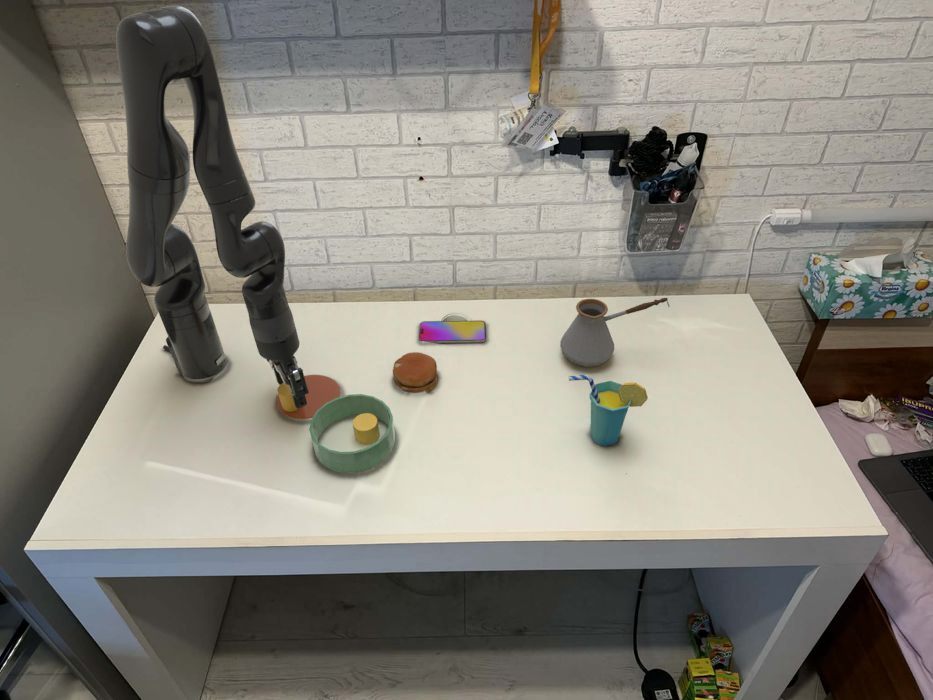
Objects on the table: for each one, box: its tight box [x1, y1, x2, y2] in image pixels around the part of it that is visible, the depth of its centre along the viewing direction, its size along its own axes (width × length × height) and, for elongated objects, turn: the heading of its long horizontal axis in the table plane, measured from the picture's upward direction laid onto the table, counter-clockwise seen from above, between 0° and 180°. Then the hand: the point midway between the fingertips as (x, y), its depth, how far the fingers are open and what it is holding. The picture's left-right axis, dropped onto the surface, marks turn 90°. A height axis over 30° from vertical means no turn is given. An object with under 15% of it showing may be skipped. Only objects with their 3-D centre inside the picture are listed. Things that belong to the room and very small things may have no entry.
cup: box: [568, 374, 648, 447], centre depth 119 cm, size 14×8×15 cm, turn 84°
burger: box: [392, 351, 439, 393], centre depth 136 cm, size 10×9×5 cm
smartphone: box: [418, 320, 487, 344], centre depth 148 cm, size 7×1×15 cm
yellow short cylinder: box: [352, 413, 381, 445], centre depth 123 cm, size 5×5×4 cm
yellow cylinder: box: [277, 383, 300, 412], centre depth 129 cm, size 4×4×4 cm
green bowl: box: [308, 393, 396, 474], centre depth 121 cm, size 15×15×6 cm
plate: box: [275, 374, 342, 420], centre depth 133 cm, size 13×13×1 cm
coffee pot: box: [559, 297, 671, 368], centre depth 137 cm, size 21×12×15 cm, turn 89°
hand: (292, 394), depth 129 cm, fingers open, 8 cm apart
